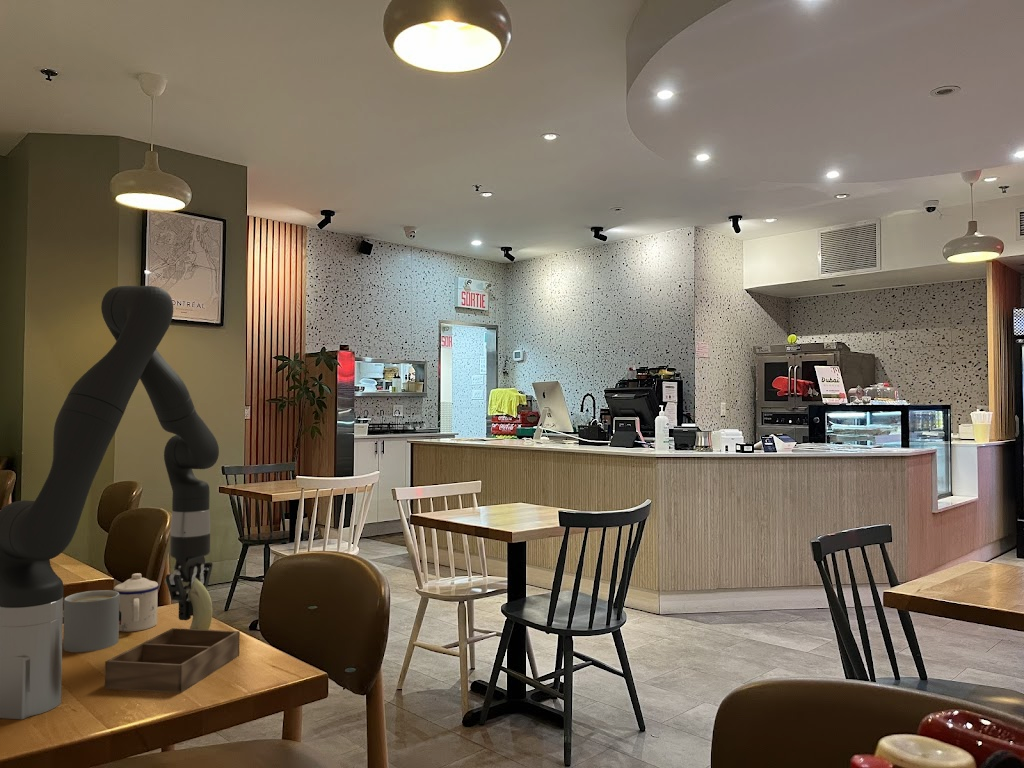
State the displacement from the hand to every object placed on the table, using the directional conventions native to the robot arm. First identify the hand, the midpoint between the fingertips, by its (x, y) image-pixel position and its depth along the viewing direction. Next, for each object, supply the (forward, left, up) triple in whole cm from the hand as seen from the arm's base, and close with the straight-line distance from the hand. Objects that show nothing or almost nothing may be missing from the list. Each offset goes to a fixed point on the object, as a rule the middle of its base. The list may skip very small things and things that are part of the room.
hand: (189, 616), depth 154 cm
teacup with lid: (+11, +19, -6) cm, 23 cm away
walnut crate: (-14, -6, -6) cm, 16 cm away
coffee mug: (0, +22, -6) cm, 23 cm away
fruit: (0, 0, -6) cm, 6 cm away
